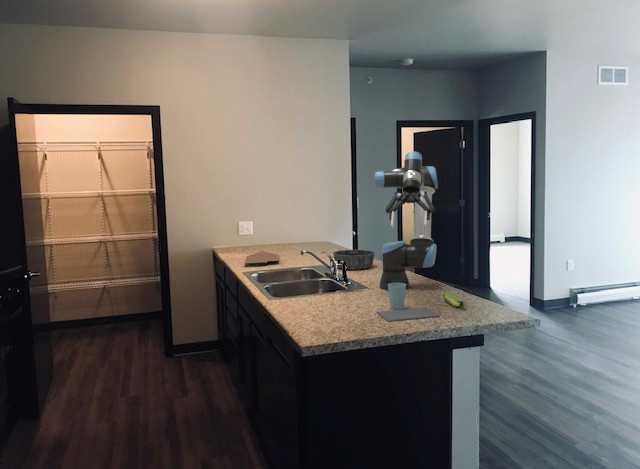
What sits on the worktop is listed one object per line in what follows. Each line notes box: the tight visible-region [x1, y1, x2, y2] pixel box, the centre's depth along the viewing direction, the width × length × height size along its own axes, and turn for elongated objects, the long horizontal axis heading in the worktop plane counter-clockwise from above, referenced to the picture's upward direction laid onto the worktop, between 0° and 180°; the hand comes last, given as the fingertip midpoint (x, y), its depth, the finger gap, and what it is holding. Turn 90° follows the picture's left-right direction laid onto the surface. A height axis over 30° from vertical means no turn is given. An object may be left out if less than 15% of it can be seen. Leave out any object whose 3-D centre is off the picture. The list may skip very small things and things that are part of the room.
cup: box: [388, 283, 407, 310], centre depth 231 cm, size 8×8×10 cm
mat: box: [376, 307, 441, 323], centre depth 220 cm, size 14×22×1 cm, turn 103°
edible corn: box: [442, 290, 467, 310], centre depth 234 cm, size 5×20×5 cm
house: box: [244, 250, 281, 267], centre depth 366 cm, size 23×33×8 cm
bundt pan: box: [332, 249, 376, 271], centre depth 334 cm, size 26×26×10 cm
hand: (408, 226), depth 221 cm, fingers open, 13 cm apart
